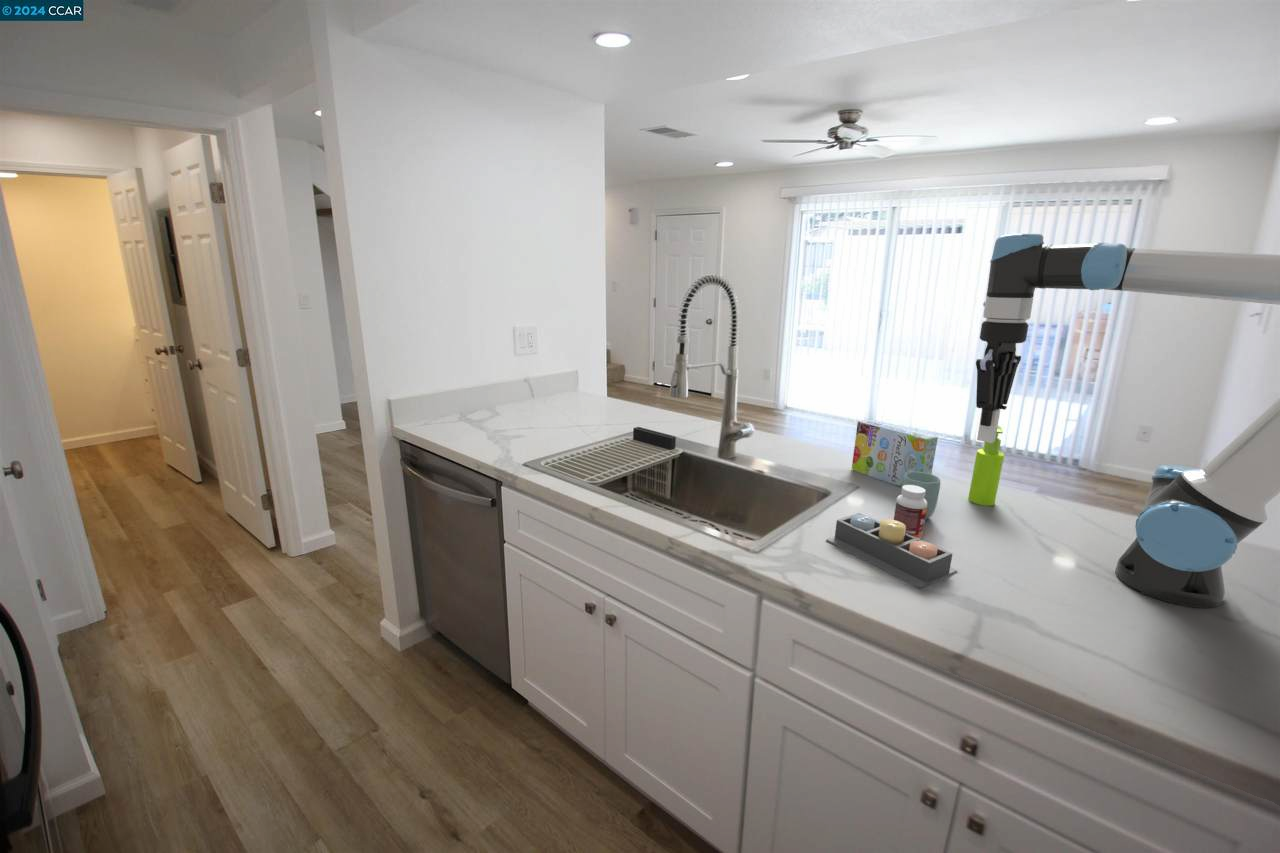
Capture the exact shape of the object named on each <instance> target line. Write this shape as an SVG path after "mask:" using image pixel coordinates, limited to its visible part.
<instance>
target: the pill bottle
mask: <svg viewBox="0 0 1280 853" xmlns="http://www.w3.org/2000/svg"><path fill="white" fill-rule="evenodd" d="M900 492H901V493H902V495H901V494H900V495H898V496H897V498H896V501H895V508H894V515H893V520H896V521H899V522H902V523H903V524H905V526H906V530H905V533H907V534H909V535H911V536H914V537H916V538H918V539H921V540H922V537H923V533H924V527H925V521H926V519H925V516H926V510H927V501H926V500H925V499H924V497H925V492H926V490H925V489H924V488H922V487H919V486H915V485H904V486H902V487H901V491H900Z"/></svg>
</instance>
